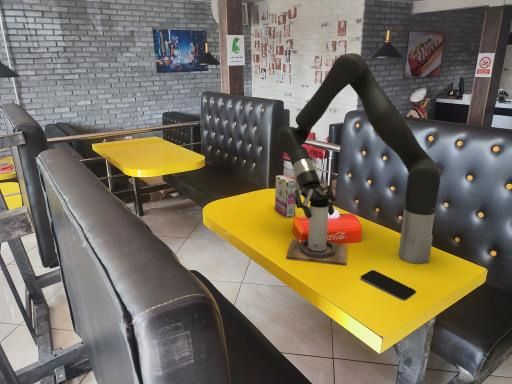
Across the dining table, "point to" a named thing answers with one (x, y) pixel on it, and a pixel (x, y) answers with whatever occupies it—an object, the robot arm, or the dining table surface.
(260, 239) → the dining table surface
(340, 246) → the mug holder board
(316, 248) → the travel mug
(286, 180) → the candy bar box
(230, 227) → the dining table surface
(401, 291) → the smartphone
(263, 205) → the dining table surface
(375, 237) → the dining table surface
